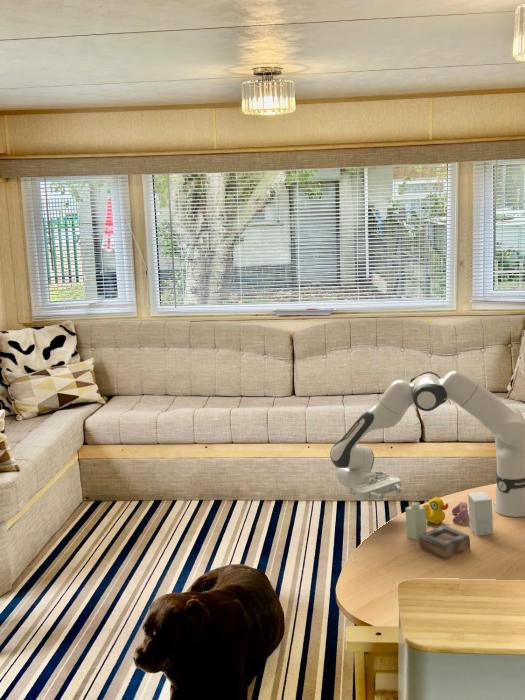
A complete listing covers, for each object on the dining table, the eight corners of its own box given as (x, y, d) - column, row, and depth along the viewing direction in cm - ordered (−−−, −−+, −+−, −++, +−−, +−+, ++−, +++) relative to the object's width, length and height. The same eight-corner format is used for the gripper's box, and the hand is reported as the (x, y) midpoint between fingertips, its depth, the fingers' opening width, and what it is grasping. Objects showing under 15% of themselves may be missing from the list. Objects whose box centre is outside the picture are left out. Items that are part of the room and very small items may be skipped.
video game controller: (463, 527, 284) (471, 511, 282) (451, 522, 284) (459, 506, 282) (461, 516, 293) (469, 501, 291) (450, 511, 294) (458, 496, 292)
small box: (493, 533, 273) (492, 499, 270) (476, 535, 273) (474, 501, 270) (486, 524, 281) (484, 491, 278) (469, 526, 280) (467, 493, 278)
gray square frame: (445, 538, 273) (444, 524, 272) (470, 549, 263) (469, 535, 262) (420, 548, 267) (419, 534, 266) (444, 560, 257) (444, 545, 256)
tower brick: (417, 532, 280) (415, 500, 278) (427, 536, 276) (425, 504, 274) (407, 536, 278) (405, 504, 275) (416, 540, 273) (414, 508, 271)
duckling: (453, 523, 284) (451, 498, 282) (445, 528, 281) (443, 503, 279) (427, 516, 292) (426, 492, 291) (419, 521, 289) (417, 496, 287)
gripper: (345, 483, 291) (368, 493, 279) (386, 470, 301) (410, 479, 289) (346, 499, 292) (369, 509, 280) (387, 485, 302) (411, 495, 291)
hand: (391, 494), depth 285 cm, fingers open, 8 cm apart
